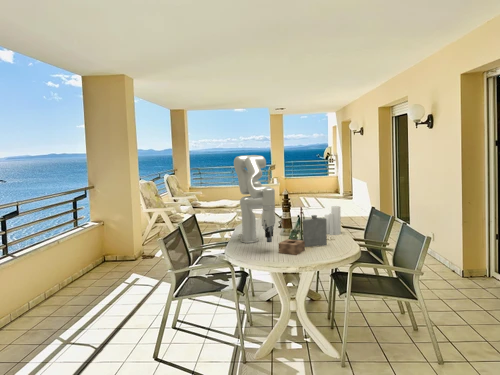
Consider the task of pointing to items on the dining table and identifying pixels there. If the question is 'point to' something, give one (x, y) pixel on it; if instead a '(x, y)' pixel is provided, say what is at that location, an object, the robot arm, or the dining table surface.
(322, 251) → the dining table surface
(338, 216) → the vase
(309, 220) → the hip flask
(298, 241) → the wooden square hole block
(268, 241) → the grey metal rod
